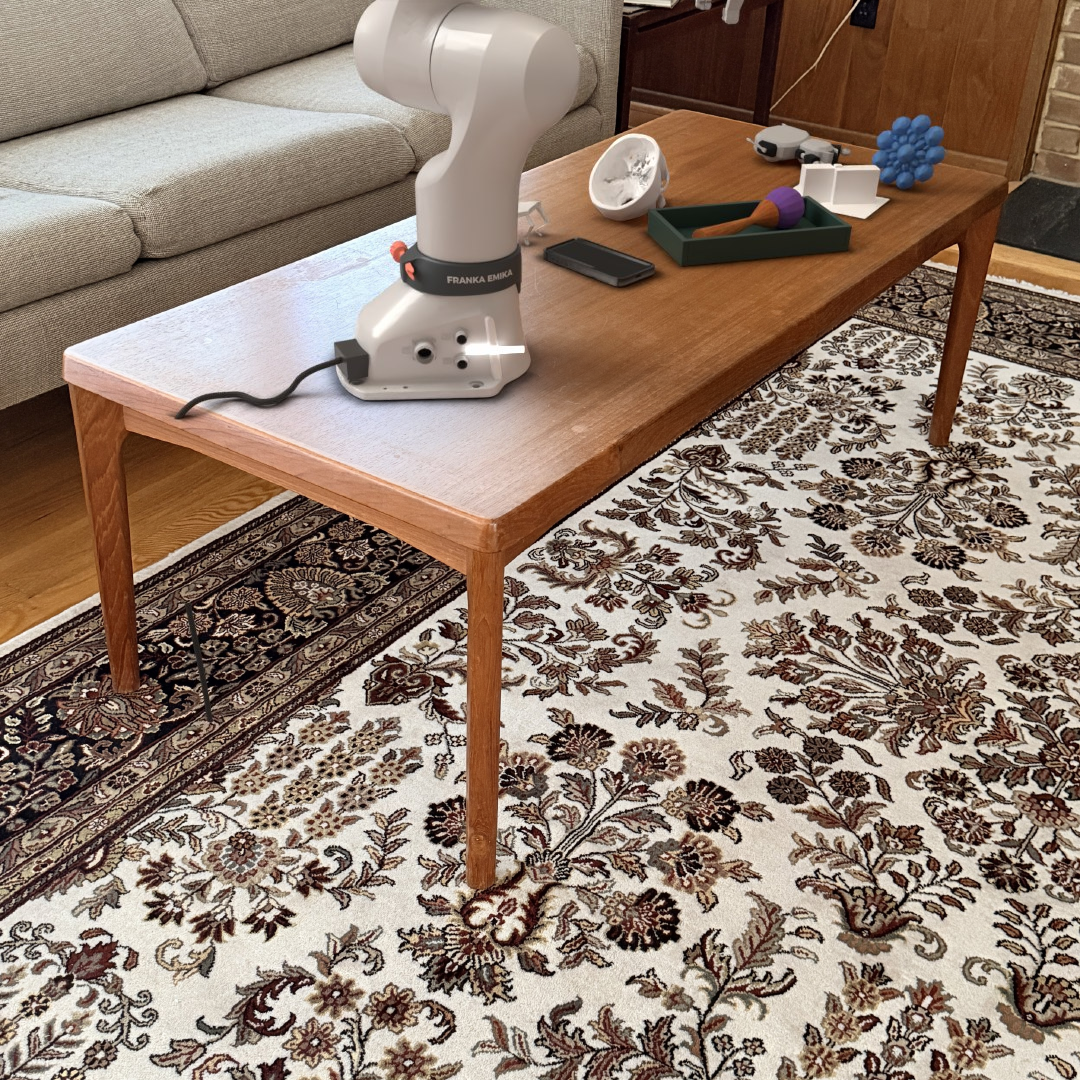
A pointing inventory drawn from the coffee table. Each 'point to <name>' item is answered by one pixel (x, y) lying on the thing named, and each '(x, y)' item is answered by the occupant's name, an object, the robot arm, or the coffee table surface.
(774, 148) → the robot toy
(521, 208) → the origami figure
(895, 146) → the blue beaded flower
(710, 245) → the tray
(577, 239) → the phone
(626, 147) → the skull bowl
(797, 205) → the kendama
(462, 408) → the coffee table surface
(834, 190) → the napkin holder
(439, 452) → the coffee table surface
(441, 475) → the coffee table surface
